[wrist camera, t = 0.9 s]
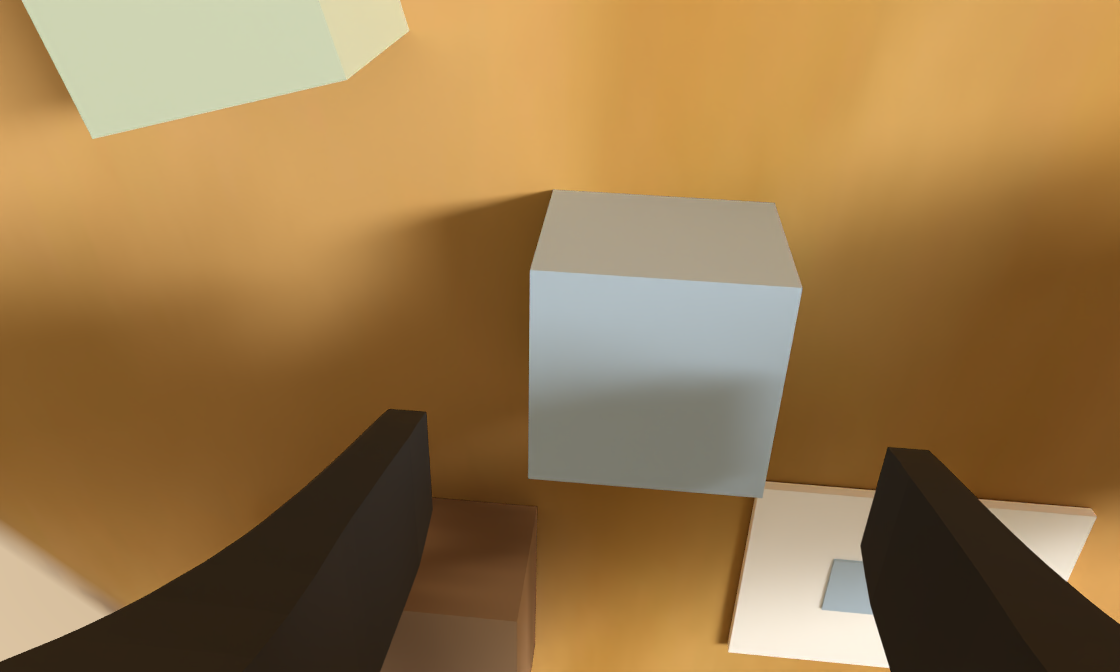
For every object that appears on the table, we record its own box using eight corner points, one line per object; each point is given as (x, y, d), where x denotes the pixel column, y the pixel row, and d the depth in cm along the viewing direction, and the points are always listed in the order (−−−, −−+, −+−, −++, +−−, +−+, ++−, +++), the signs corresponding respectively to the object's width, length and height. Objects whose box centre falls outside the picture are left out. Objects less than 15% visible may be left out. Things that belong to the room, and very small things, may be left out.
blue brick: (774, 200, 18) (802, 287, 14) (743, 384, 20) (762, 498, 17) (553, 187, 18) (530, 270, 15) (549, 370, 20) (527, 478, 17)
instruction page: (1091, 508, 21) (1098, 519, 20) (1017, 671, 24) (1022, 683, 23) (758, 480, 21) (759, 490, 21) (727, 643, 24) (728, 654, 24)
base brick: (538, 502, 23) (516, 621, 19) (535, 640, 25) (516, 766, 22) (339, 485, 23) (283, 599, 20) (357, 623, 26) (312, 744, 22)
